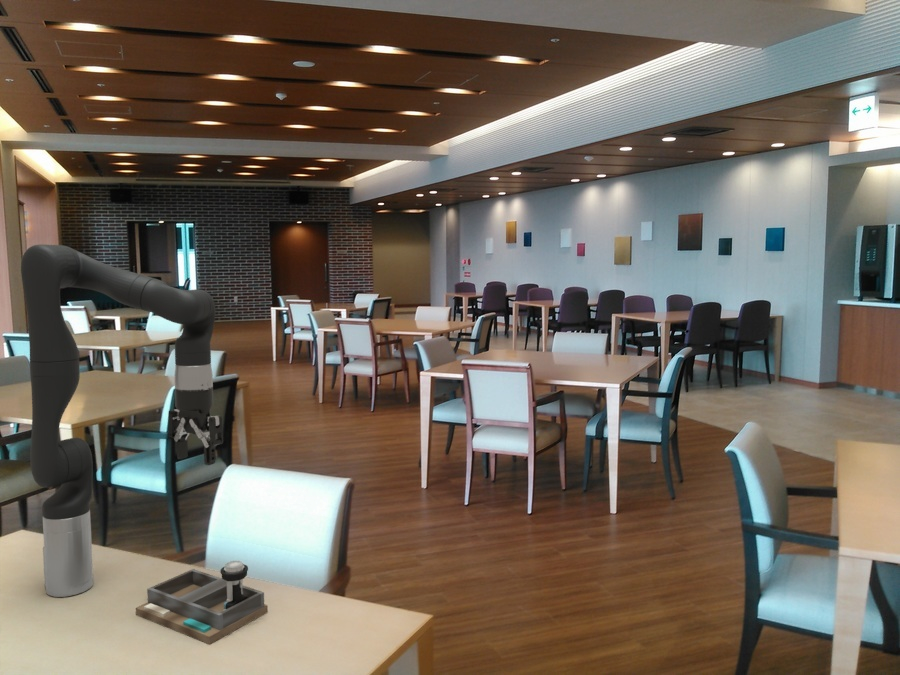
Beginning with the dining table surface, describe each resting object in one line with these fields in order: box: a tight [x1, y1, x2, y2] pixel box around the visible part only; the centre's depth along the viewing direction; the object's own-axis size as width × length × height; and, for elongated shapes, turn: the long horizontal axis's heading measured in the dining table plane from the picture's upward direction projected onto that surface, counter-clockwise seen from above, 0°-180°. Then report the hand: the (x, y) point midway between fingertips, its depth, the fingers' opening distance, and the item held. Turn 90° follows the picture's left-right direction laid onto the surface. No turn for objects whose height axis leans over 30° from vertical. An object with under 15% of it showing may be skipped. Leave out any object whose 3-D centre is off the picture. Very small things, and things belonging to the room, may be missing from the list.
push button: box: [219, 560, 249, 611], centre depth 145 cm, size 7×5×10 cm
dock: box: [135, 568, 268, 645], centre depth 148 cm, size 22×15×4 cm
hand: (196, 461), depth 152 cm, fingers open, 8 cm apart
